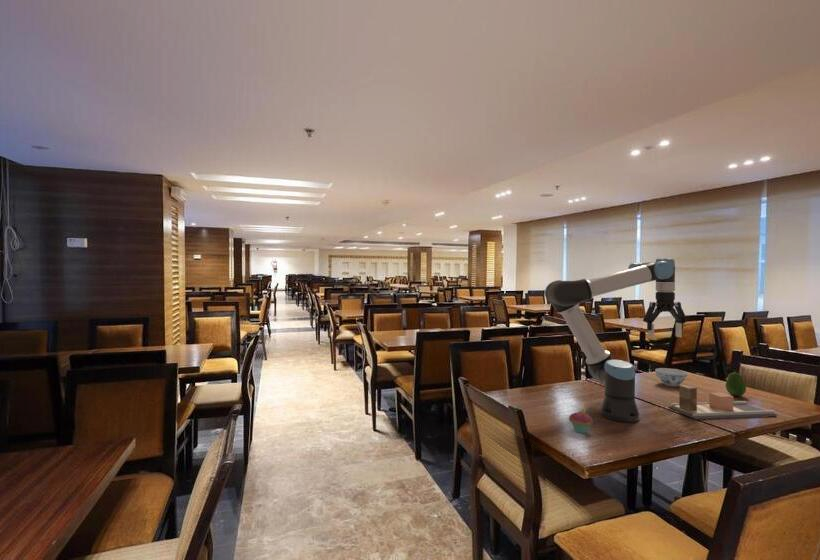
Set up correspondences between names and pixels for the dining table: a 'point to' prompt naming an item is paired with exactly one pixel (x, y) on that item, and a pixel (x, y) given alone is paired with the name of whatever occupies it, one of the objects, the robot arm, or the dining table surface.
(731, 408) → the block
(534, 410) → the dining table surface
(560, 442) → the dining table surface
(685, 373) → the chinaware
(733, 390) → the green bumpy rounded piece
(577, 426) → the cupcake
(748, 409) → the board
